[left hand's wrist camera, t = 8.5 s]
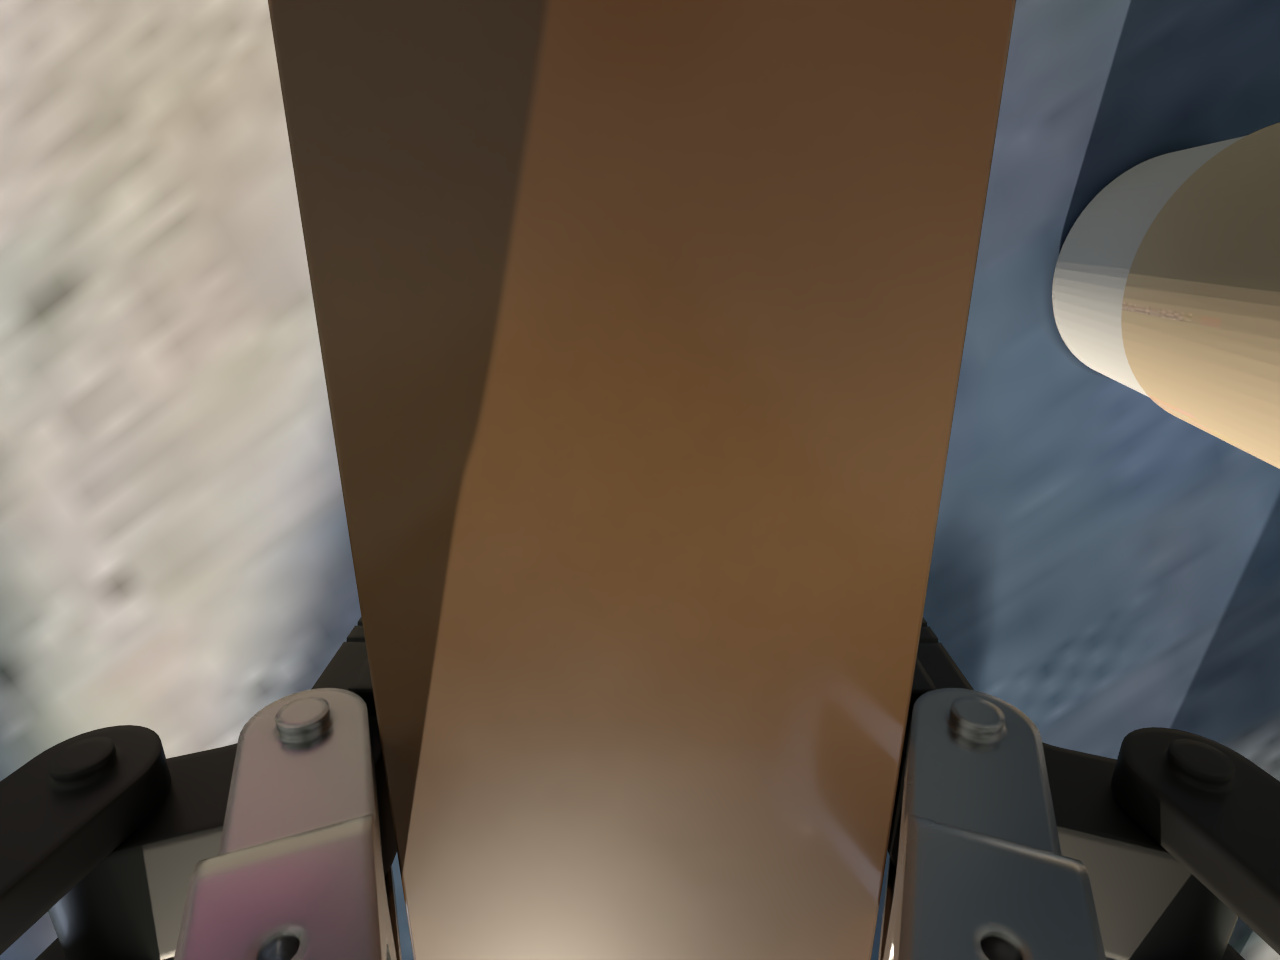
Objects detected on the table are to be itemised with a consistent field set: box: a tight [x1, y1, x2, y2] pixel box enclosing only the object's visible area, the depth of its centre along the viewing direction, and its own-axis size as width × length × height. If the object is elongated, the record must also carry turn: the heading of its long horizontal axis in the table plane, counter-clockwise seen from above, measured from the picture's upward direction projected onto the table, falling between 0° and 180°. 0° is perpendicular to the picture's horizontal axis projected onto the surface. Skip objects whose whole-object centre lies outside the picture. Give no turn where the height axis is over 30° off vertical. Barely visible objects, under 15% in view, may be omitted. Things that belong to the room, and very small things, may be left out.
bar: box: [268, 0, 1016, 960], centre depth 9 cm, size 22×5×8 cm, turn 0°
